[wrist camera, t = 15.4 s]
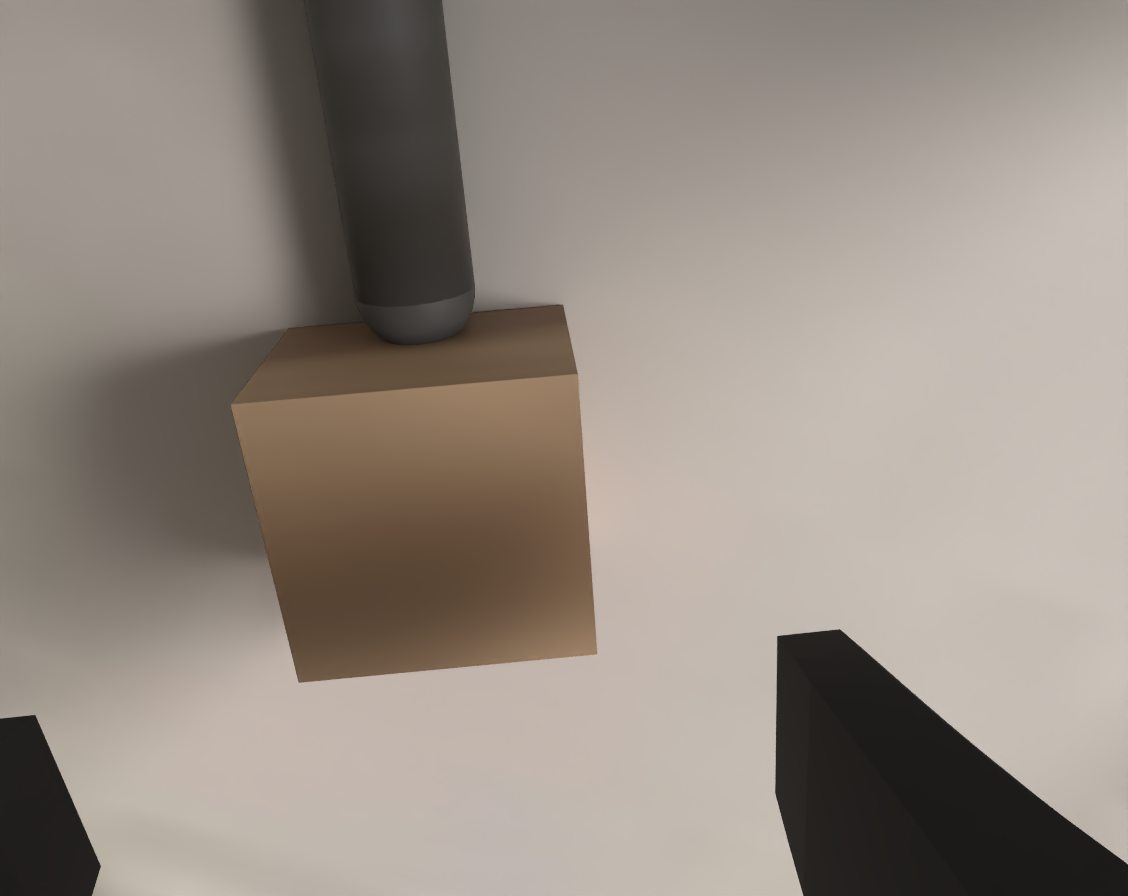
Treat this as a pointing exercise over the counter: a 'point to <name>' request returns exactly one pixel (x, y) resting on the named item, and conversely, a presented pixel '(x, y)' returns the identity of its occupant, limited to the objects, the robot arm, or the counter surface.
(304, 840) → the counter surface
